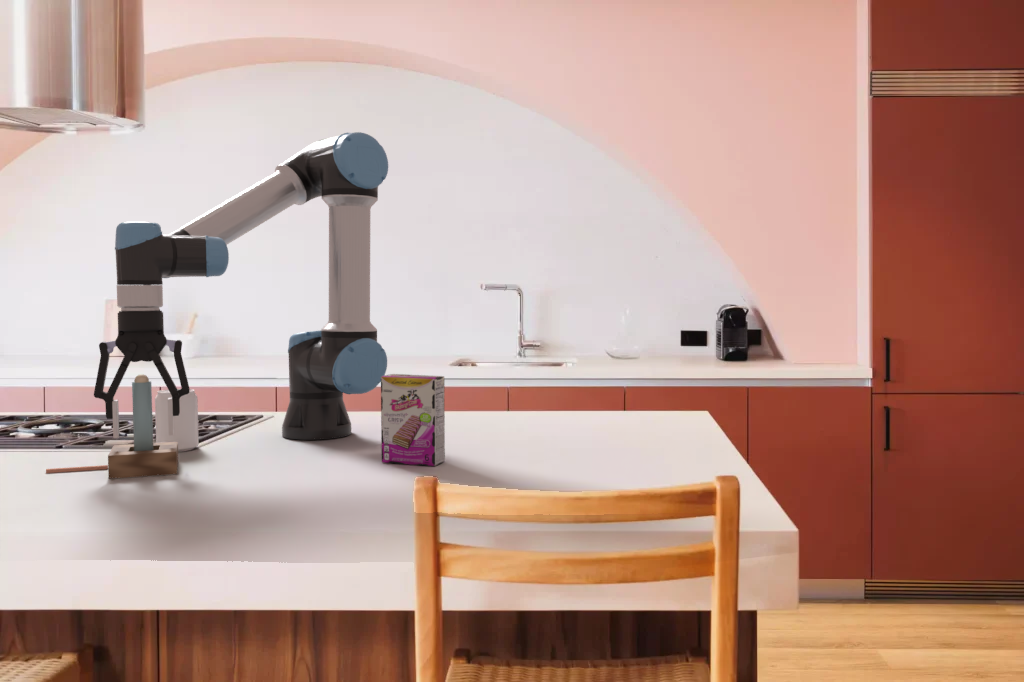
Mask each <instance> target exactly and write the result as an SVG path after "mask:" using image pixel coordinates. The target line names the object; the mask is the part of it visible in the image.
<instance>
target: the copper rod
mask: <svg viewBox="0 0 1024 682" xmlns="http://www.w3.org/2000/svg"><path fill="white" fill-rule="evenodd" d="M98 470H99V471H101V470H108V464H104V465H88V466H71V467H69V466H68V467H57V468H56V467H54V468H46V470H45V474H52V473H53V474H54V473H67V472H69V473H70V472H82V471H98Z"/></svg>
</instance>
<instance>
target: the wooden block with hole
mask: <svg viewBox="0 0 1024 682" xmlns="http://www.w3.org/2000/svg"><path fill="white" fill-rule="evenodd" d="M107 465H108V469H107V470H108V475H107V476H108V479H109V480H110V479H125V478H138V477H139V478H140V477H142V478H143V477H155V476H168V475H177V474H178V468H179V452H178V442H163V443H156V442H153V450H148V451H134V443H131V444H129V443H128V444H114V445H113V446H112V447H111V450H110V451H109V453H108V454H107Z"/></svg>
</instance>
